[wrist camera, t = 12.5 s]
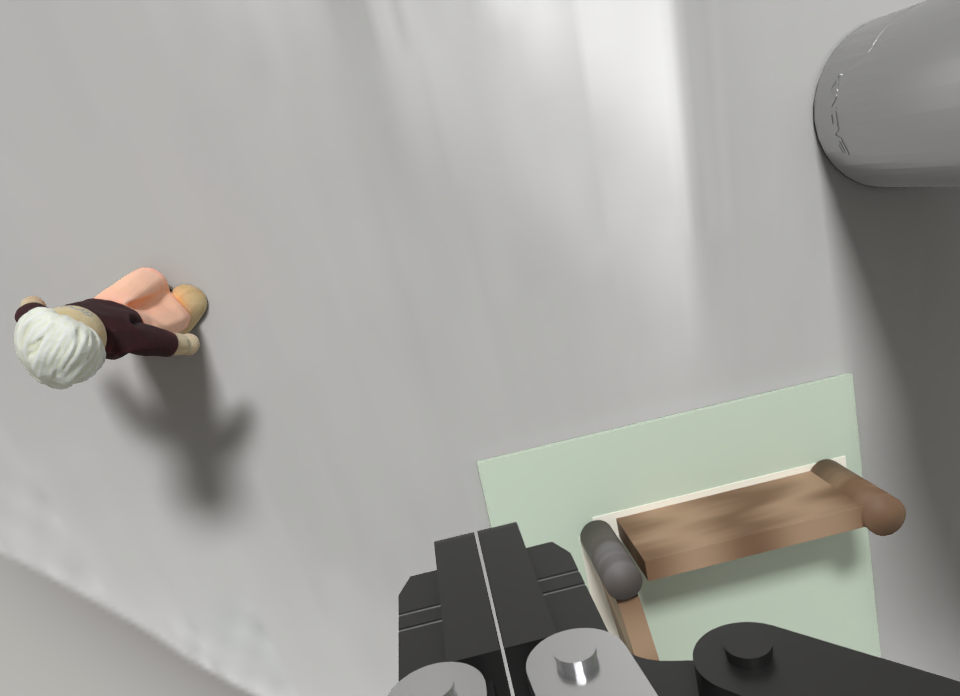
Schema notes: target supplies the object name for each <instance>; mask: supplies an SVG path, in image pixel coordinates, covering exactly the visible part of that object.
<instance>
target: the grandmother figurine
mask: <svg viewBox="0 0 960 696" xmlns="http://www.w3.org/2000/svg"><path fill="white" fill-rule="evenodd" d="M206 309H207V298H206V296H205V294H204V293H203V292H202V291H201V290H200V289H198V288H196V287H194V286H192V285H187V284H186V285H185V284H184V285H179V286H177V287H175V288H174V289H173V290H172V292H170V291H169V286H168V283H167V280H166V278H165V277H164V276H163V275H162V274H161V273H160V272H158V271H156V270H155V269H152V268H139V269H137V270H135V271H133V272H131V273H129V274H128V275H126V276H125V277H123V278H122V279H120V280H118V281H117V282H116V283H115V284H113V285H112V286H110V287H108V288H107V289H105V290H104V291H102V292H101V293H99V294H98V295H97V296H96V297H95V298H92V299H87V300H84V301H81V302H76V303H71V304H66V305H64V306H60V307H57V308H54V309H52V308H48V307H46V305H45V303H44V301H43V300H42V299H41V298H39V297H36V296H29V297H26V298H24V299H23V300H22V302H21V304H20V308H19V309H18V310H17V311H16V314H15V320H16V322H17V325H16V328H15V334H14V343H15V348H16V352H17V356H18V358H19V360H20V362H21V364H22V365H23V366H24V367H25V369H26V370H28V372H29V374H30V375H31V376H32V377H33V378H34V379H35V380H36V381H38V382H40V383H42V384H45V385H47V386H49V387H51V388H55V389H65V388H68V387H70V386H72V385H73V384H76V383H80V382H83V381H86V380H88V379H89V378H91V377H92V376H93V375H95V373H96V372H97V371H98V370H99V369H100V368H101V367H102V365H103V363H104V362H105V359H111V360H115V359H118V358H121V357H123V356H124V355H126V354H128V353H132V354H136V355H143V356H162V357H169V356H172V355H182V354H184V355H192V354H195V353H196V352H197V351H198V350H199V347H200V342H199V339H198V337H196V336H195V335H193V334H189V332H190V331H191V330H192V329H193V328H194V326H195V325H196V324H197V322H198V321H199V320H200V318H201V317H202V316H203V314H204V312H205V311H206Z"/></svg>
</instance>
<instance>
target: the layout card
mask: <svg viewBox="0 0 960 696" xmlns="http://www.w3.org/2000/svg"><path fill="white" fill-rule="evenodd" d="M823 459H831V460H834V461H836V462H837V463H839V464H841V465H842V466H844V467H846V468H847V469H849V470H850V471H852V472H854V473H855V474H857V475H859V476H860V477H862V478H863V474H862V464H861V454H860V444H859V434H858V424H857V414H856V404H855V394H854V384H853V374H850V373H846V374H842V375H838V376H834V377H829V378H825V379H821V380H817V381H812V382H808V383H804V384H800V385H796V386H791V387H787V388H783V389H779V390H775V391H770V392H766V393H762V394H758V395H754V396H749V397H745V398H741V399H737V400H733V401H728V402H724V403H720V404H716V405H712V406H707V407H703V408H699V409H695V410H691V411H686V412H682V413H678V414H674V415H670V416H665V417H661V418H657V419H653V420H649V421H644V422H640V423H636V424H632V425H628V426H623V427H619V428H615V429H611V430H607V431H602V432H598V433H594V434H590V435H586V436H581V437H577V438H573V439H569V440H565V441H560V442H556V443H552V444H548V445H544V446H539V447H535V448H531V449H527V450H523V451H518V452H514V453H510V454H506V455H502V456H497V457H493V458H489V459H485V460H481V461H476V462H477V466H478V471H479V475H480V479H481V484H482V488H483V493H484V497H485V502H486V506H487V511H488V515H489V520H490V524H491V528H492V527H497V526H501V525H505V524H509V523H513V522H517V524H518V527H519V530H520V533H521V535H522V538H523V541H524V544H525V546H526V548H528V547H532V546H536V545H540V544H544V543H548V542H554V543H555V544H557V545H559V546H560V547H562V548H563V549H565V550H567V551H568V552H570V553H571V555H572V557H573V559H574V561H575V563H576V566H577V568H578V571H579V572H580V574H581V576H582V578H583V580H584V582H585V586H587V588H588V590H589V593H590V595H591V597H592V599H593V601H594V603H595V605H596V607H597V609H598V611H599V613H600V615H601V618H602V620H603V622H604V624H605V626H606V628H607V630H608V632H609V633H611V634H613V635H615V636H617V637H618V638H619V639H620V636H619V633H618V630H617V627H616V624H615V621H614V618H613V615H612V612H611V609H610V606H609V603H608V600H607V597H606V594H605V591H604V588H603V585H602V582H601V579H600V577H599V575H598V573H597V571H596V569H595V568H594V566H593V564H592V562H591V560H590V558H589V556H588V554H587V552H586V550H585V549H584V547H583V545H582V543H581V540H580V534H581V531H582V529H583V527H584V526H585V525H586V524H587V523H589V522H591V521H594V520H602V521H605V522H607V523H608V524H609V525H610V526H611V528H612V529H613V531H614V532H615V534H616V535H617V537H618V538H619V540H620V542H621V543H622V545H623V546H624V548H625V549H626V551H627V553H628V554H629V556H630V557H631V559H632V560H633V562H634V563H635V565H636V567H637V568H638V570H639V571H640V573H641V575H642V579H643V583H642V587H641V589H640V591H639V592H638V593H637V594H638V595H639V598H640V601H641V604H642V607H643V610H644V614H645V617H646V620H647V623H648V626H649V629H650V632H651V635H652V639H653V642H654V645H655V648H656V651H657V654H658V657H659V661H684V660H693V649H694V647H695V645H696V643H697V642H698V640H699V639H700V638H701V637H702V636H703V635H704V634H706V633H707V632H709V631H710V630H712V629H715V628H717V627H719V626H723V625H726V624H731V623H736V622H758V623H765V624H769V625H773V626H776V627H780V628H783V629H786V630H790V631H793V632H796V633H800V634H803V635H806V636H810V637H813V638H816V639H820V640H823V641H826V642H830V643H833V644H836V645H839V646H843V647H846V648H849V649H853V650H856V651H859V652H863V653H866V654H869V655H873V656H876V657H879V658H881V654H880V644H879V634H878V624H877V614H876V604H875V594H874V584H873V574H872V564H871V554H870V544H869V534H868V529H867V528H866V527H863V528H859V529H855V530H851V531H847V532H843V533H839V534H835V535H831V536H827V537H823V538H819V539H815V540H811V541H807V542H803V543H799V544H795V545H791V546H787V547H783V548H779V549H775V550H771V551H767V552H763V553H759V554H755V555H751V556H747V557H744V558H740V559H736V560H732V561H728V562H724V563H720V564H716V565H712V566H708V567H704V568H700V569H696V570H692V571H688V572H684V573H680V574H676V575H672V576H668V577H664V578H660V579H656V580H652V581H648V580H647V579H646V577H645V575H644V574H643V572H642V571H641V569H640V568H639V566H638V565H637V563H636V562H635V560H634V558H633V557H632V555H631V554H630V552H629V551H628V549H627V548H626V546H625V545H624V543H623V541H622V540H621V538H620V537H619V532H618V526H617V521H616V518H620V517H624V516H629V515H633V514H637V513H641V512H645V511H649V510H653V509H657V508H661V507H665V506H669V505H673V504H677V503H681V502H686V501H690V500H694V499H698V498H702V497H706V496H710V495H714V494H718V493H722V492H726V491H730V490H734V489H738V488H743V487H747V486H751V485H755V484H759V483H763V482H767V481H771V480H775V479H779V478H783V477H787V476H791V475H795V474H799V473H804V472H808V471H810V470H811V468H812V467H813V466H814V465H815V464H816V462H818V461H820V460H823Z"/></svg>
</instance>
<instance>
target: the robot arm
mask: <svg viewBox="0 0 960 696" xmlns="http://www.w3.org/2000/svg"><path fill="white" fill-rule="evenodd" d="M814 112H815V125H816V130H817V134H818V138H819V141H820V143H821V145H822V147H823V150H824V152H825V154H826V155H827V156H828V158H829V159H830V161H831V162H832V163H833V165H834V166H835V167H836V168H837V169H839V170H840V171H841V172H842V173H843V174H844V175H846V176H847V177H849V178H851V179H853V180H855V181H857V182H859V183H861V184H865V185H869V186H873V187H960V0H927V1H924V2H922V3H919V4H916V5H913V6H911V7H908V8H905V9H903V10H900V11H897V12H894V13H892V14H889V15H886V16H884V17H881V18H878V19H876V20H874V21H871V22H869V23H867V24H865V25H862V26H861V27H859V28H858V29H857V30H855V31H854V32H852V33H851V34H850V35H848V36H847V37H846V38H845V39H844V40H843V41H842V42H841V44H840V45H839V46H838V47H837V48H836V49H835V50H834V52H833V53H832V55H831V57H830V58H829V60H828V61H827V63H826V65H825V66H824V69H823V72H822V74H821V77H820V79H819V82H818V85H817V91H816V96H815V102H814ZM477 532H478V537H479V541H480V545H481V550H482V554H483V559H484V563H485V567H486V572H487V576H488V580H489V585H490V589H491V594H492V598H493V602H494V607H495V611H496V616H497V620H498V624H499V629H500V633H501V637H502V642H503V646H504V650H505V655H506V659H507V663H508V667H509V672H510V676H511V680H512V685H513V689H514V693H515V696H960V682H959V681H956V680H952V679H949V678H946V677H942V676H939V675H936V674H932V673H929V672H926V671H922V670H919V669H916V668H912V667H909V666H906V665H903V664H899V663H896V662H893V661H889V660H886V659H883V658H879V657H876V656H873V655H869V654H866V653H863V652H859V651H856V650H853V649H849V648H846V647H843V646H839V645H836V644H833V643H830V642H826V641H823V640H820V639H816V638H813V637H810V636H806V635H803V634H800V633H796V632H793V631H790V630H786V629H783V628H780V627H776V626H773V625H769V624H765V623H758V622H736V623H731V624H726V625H723V626H719V627H717V628H715V629H712V630H710V631H709V632H707V633H706V634H704V635H703V636H702V637H701V638H700V639H699V640H698V642H697V643H696V645H695V647H694V649H693V660H684V661H658V660H650V659H646V658H641V657H638V656H635V655H633V654H631V653H630V652H629V650H628V648H627V647H626V645H625V644H624V643H623V642H622V640H621V639H619V638H618V637H617V636H615V635H613V634H611V633H609V632H608V630H607V628H606V626H605V624H604V622H603V620H602V618H601V615H600V613H599V611H598V609H597V607H596V605H595V603H594V601H593V599H592V597H591V595H590V593H589V590H588V588H587V586H585V582H584V580H583V578H582V576H581V574H580V572H579V571H578V568H577V566H576V563H575V561H574V559H573V557H572V555H571V553H570V552H568V551H567V550H565V549H563V548H562V547H560V546H559V545H557V544H555V543H554V542H548V543H544V544H540V545H536V546H532V547H528V548H526V546H525V544H524V541H523V538H522V535H521V533H520V530H519V527H518V524H517V522H513V523H509V524H505V525H501V526H497V527H492V528H488V529H484V530H480V531H477ZM434 545H435V555H436V564H437V570H435V571H431V572H427V573H423V574H419V575H415V576H411V577H410V578H409V580H408V581H407V583H406V585H405V586H404V588H403V589H402V591H401V593H400V594H399V682H398V683H397V684H396V685H395V686H394V687H393V688H392V690H391V691H390V693H389V694H388V696H511V694H510V689H509V685H508V680H507V676H506V671H505V667H504V663H503V658H502V654H501V649H500V645H499V640H498V636H497V631H496V627H495V623H494V618H493V614H492V610H491V605H490V601H489V596H488V592H487V588H486V583H485V579H484V575H483V570H482V566H481V562H480V557H479V553H478V549H477V544H476V540H475V536H474V532H473V533H468V534H464V535H460V536H456V537H452V538H448V539H444V540H440V541H436V542H434Z"/></svg>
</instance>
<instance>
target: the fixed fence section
mask: <svg viewBox="0 0 960 696" xmlns="http://www.w3.org/2000/svg"><path fill="white" fill-rule="evenodd" d="M905 516H906V511H905V507H904V505H903V503H902V502H901V501H900V500H898V499H896V498H895V497H893V496H891V495H890V494H888V493H887V492H885V491H883V490H882V489H880V488H878V487H877V486H875V485H873V484H872V483H870V482H869V481H867V480H865V479H864V478H862V477H860V476H859V475H857V474H855V473H854V472H852V471H850V470H849V469H847V468H846V467H844V466H842V465H841V464H839V463H837V462H836V461H834V460H831V459H823V460H820V461H818V462H816V464H815V465H814V466H813V467H812V468H811V470H810V471H808V472H804V473H799V474H795V475H791V476H787V477H783V478H779V479H775V480H771V481H767V482H763V483H759V484H755V485H751V486H747V487H743V488H738V489H734V490H730V491H726V492H722V493H718V494H714V495H710V496H706V497H702V498H698V499H694V500H690V501H686V502H681V503H677V504H673V505H669V506H665V507H661V508H657V509H653V510H649V511H645V512H641V513H637V514H633V515H629V516H624V517H620V518H616V521H617V526H618V532H619V537H620V538H621V540H622V541H623V543H624V545H625V546H626V548H627V549H628V551H629V552H630V554H631V555H632V557H633V558H634V560H635V562H636V563H637V565H638V566H639V568H640V569H641V571H642V572H643V574H644V575H645V577H646V579H647V580H648V581H652V580H656V579H660V578H664V577H668V576H672V575H676V574H680V573H684V572H688V571H692V570H696V569H700V568H704V567H708V566H712V565H716V564H720V563H724V562H728V561H732V560H736V559H740V558H744V557H747V556H751V555H755V554H759V553H763V552H767V551H771V550H775V549H779V548H783V547H787V546H791V545H795V544H799V543H803V542H807V541H811V540H815V539H819V538H823V537H827V536H831V535H835V534H839V533H843V532H847V531H851V530H855V529H859V528H863V527H866V528H867V529H869V530H870V531H872V532H873V533H875V534H877V535H880V536H886V535H890V534H893V533H894V532H896V531H897V530H898V529H899V528H900V527H901V526H902V524H903V523H904V520H905Z"/></svg>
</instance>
